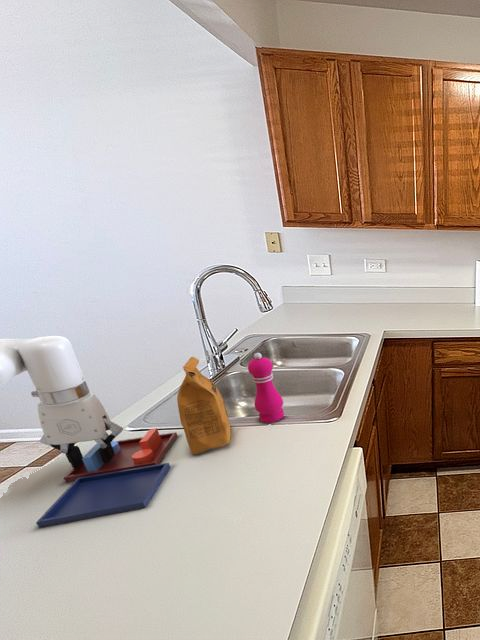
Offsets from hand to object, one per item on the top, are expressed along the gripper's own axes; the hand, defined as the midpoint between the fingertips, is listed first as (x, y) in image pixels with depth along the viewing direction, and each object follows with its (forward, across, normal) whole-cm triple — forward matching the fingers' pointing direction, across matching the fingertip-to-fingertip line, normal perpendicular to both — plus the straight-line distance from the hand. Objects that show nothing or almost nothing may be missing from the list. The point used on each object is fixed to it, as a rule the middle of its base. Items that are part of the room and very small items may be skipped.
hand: (93, 461), depth 93 cm
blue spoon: (+1, +1, +2) cm, 2 cm away
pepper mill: (+1, +36, +12) cm, 38 cm away
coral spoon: (+1, +10, +2) cm, 10 cm away
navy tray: (+1, +8, -13) cm, 15 cm away
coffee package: (+1, +23, +4) cm, 24 cm away
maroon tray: (+1, +5, +2) cm, 6 cm away
